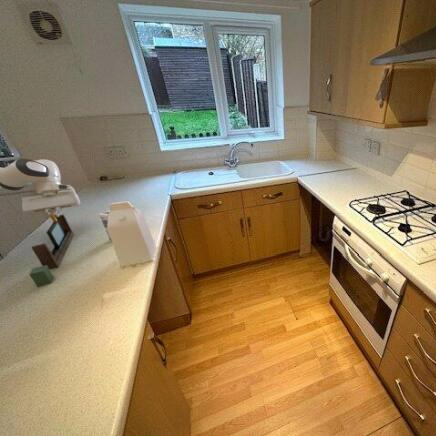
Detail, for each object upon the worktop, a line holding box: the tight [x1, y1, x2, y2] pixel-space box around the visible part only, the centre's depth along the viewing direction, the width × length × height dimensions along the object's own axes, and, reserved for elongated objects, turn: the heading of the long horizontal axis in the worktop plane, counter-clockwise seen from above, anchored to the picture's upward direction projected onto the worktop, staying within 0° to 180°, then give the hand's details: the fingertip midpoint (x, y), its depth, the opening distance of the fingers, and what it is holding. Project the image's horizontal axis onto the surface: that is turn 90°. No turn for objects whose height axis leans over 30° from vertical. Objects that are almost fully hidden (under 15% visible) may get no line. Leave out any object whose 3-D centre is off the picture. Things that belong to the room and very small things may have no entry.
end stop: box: [28, 265, 55, 287], centre depth 91 cm, size 4×4×6 cm
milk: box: [107, 200, 157, 268], centre depth 100 cm, size 12×12×26 cm
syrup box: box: [99, 209, 112, 242], centre depth 116 cm, size 6×6×14 cm
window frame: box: [31, 213, 75, 271], centre depth 108 cm, size 31×4×12 cm, turn 30°
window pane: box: [46, 212, 66, 249], centre depth 110 cm, size 13×1×13 cm, turn 30°
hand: (54, 217), depth 113 cm, fingers closed, pressing on window pane
